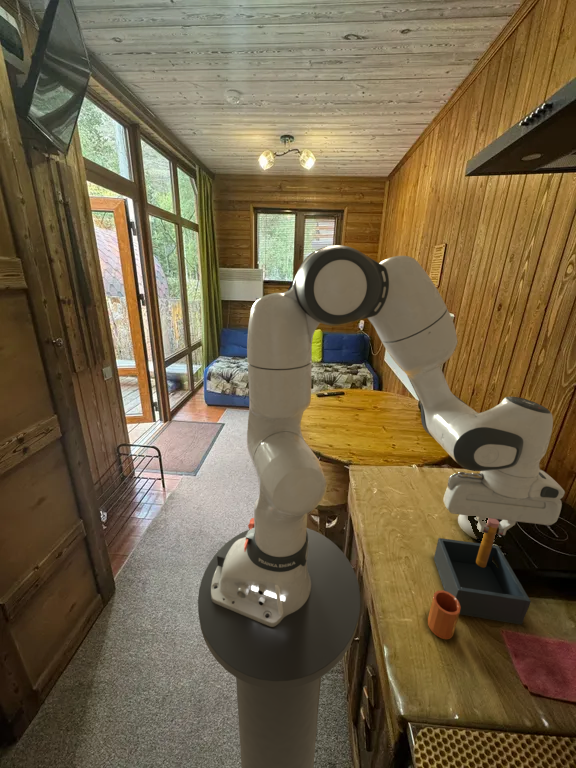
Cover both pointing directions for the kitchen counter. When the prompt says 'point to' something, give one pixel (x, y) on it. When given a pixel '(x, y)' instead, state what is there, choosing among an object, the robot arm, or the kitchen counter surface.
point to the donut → (466, 525)
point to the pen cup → (443, 614)
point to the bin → (480, 582)
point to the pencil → (487, 542)
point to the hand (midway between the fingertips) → (490, 531)
